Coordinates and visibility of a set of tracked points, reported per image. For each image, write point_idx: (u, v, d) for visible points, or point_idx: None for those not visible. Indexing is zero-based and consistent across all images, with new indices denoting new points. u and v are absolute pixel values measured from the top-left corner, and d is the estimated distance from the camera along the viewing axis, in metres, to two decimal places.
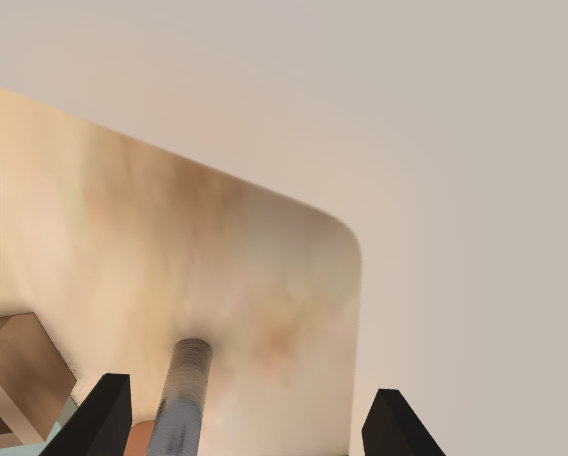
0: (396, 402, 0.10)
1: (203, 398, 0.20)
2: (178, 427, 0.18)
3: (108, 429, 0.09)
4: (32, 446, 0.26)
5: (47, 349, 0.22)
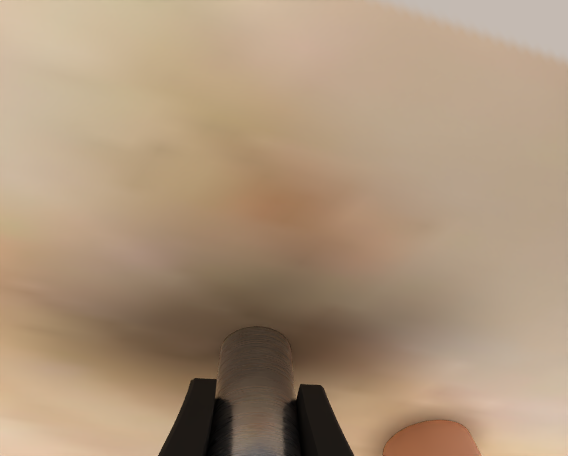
0: (314, 398, 0.10)
1: (257, 432, 0.09)
2: None
3: (208, 433, 0.09)
4: None
5: None
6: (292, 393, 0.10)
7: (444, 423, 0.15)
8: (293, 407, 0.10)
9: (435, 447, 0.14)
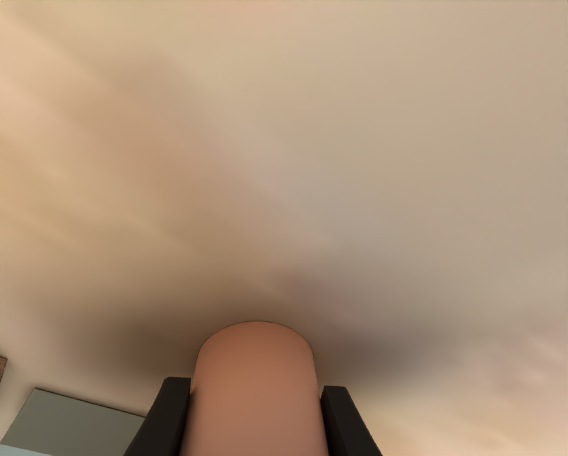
0: (339, 399, 0.10)
1: None
2: None
3: (178, 432, 0.09)
4: None
5: None
6: None
7: (281, 328, 0.11)
8: None
9: (256, 348, 0.10)
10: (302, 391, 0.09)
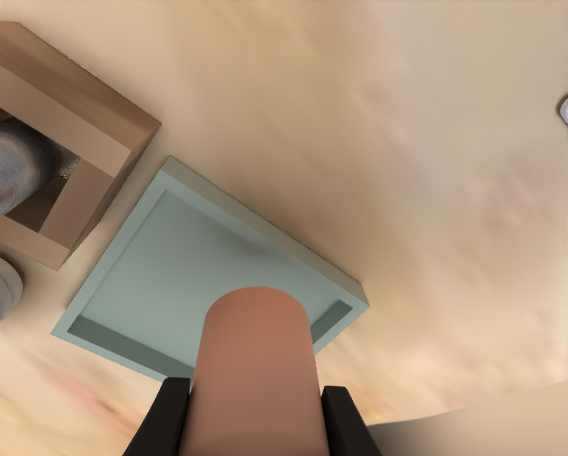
0: (339, 399, 0.10)
1: (21, 126, 0.12)
2: None
3: (178, 432, 0.09)
4: (198, 272, 0.19)
5: (73, 67, 0.14)
6: None
7: (284, 295, 0.12)
8: None
9: (263, 308, 0.11)
10: (302, 347, 0.11)
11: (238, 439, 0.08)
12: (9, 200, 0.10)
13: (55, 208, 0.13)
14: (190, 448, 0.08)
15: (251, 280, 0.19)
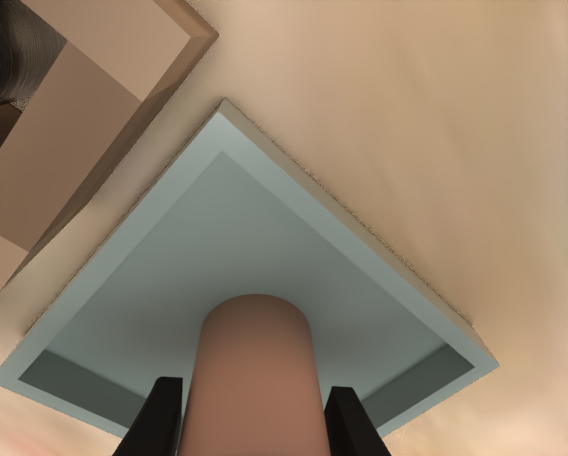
0: (347, 400, 0.10)
1: None
2: None
3: (169, 431, 0.09)
4: None
5: None
6: (48, 35, 0.07)
7: (287, 304, 0.12)
8: (35, 35, 0.06)
9: (265, 316, 0.11)
10: (305, 359, 0.10)
11: None
12: None
13: (1, 160, 0.06)
14: None
15: (320, 313, 0.12)
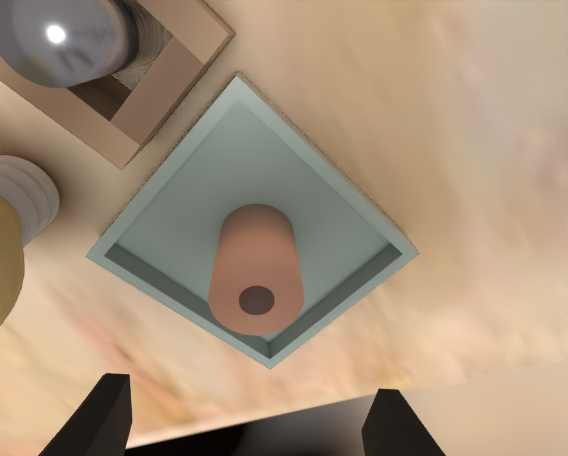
0: (396, 402, 0.10)
1: None
2: None
3: (108, 429, 0.09)
4: (247, 204, 0.18)
5: None
6: (150, 33, 0.13)
7: (278, 210, 0.18)
8: (147, 32, 0.12)
9: (263, 213, 0.17)
10: (288, 236, 0.16)
11: (249, 266, 0.14)
12: (110, 57, 0.10)
13: (133, 94, 0.12)
14: (220, 272, 0.14)
15: (300, 219, 0.18)
